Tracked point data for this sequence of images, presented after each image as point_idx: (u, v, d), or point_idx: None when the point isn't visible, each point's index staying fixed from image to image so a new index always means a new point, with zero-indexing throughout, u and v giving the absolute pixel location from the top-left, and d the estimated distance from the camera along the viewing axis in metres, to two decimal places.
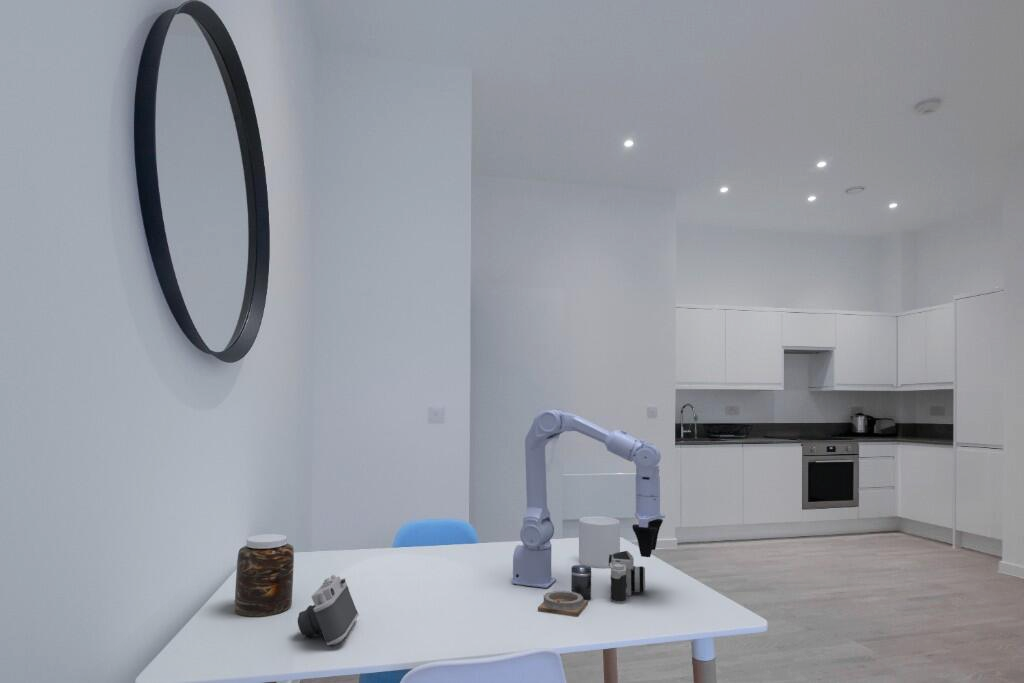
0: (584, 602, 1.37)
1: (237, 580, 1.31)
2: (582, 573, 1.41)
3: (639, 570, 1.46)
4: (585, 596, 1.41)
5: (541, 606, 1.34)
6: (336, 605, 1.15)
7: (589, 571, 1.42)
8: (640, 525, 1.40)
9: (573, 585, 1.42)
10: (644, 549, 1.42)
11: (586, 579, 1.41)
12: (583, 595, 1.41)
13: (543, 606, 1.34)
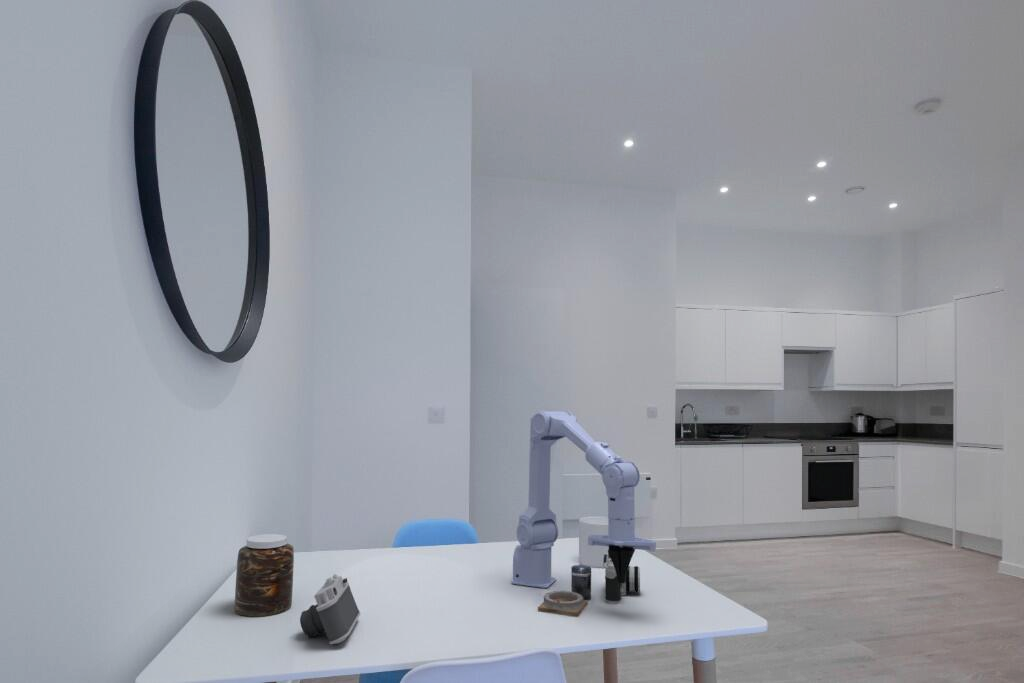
0: (584, 602, 1.37)
1: (237, 580, 1.31)
2: (582, 573, 1.41)
3: (633, 570, 1.46)
4: (585, 596, 1.41)
5: (541, 606, 1.34)
6: (339, 604, 1.15)
7: (589, 571, 1.42)
8: None
9: (573, 585, 1.42)
10: None
11: (586, 579, 1.41)
12: (583, 595, 1.41)
13: (543, 606, 1.34)
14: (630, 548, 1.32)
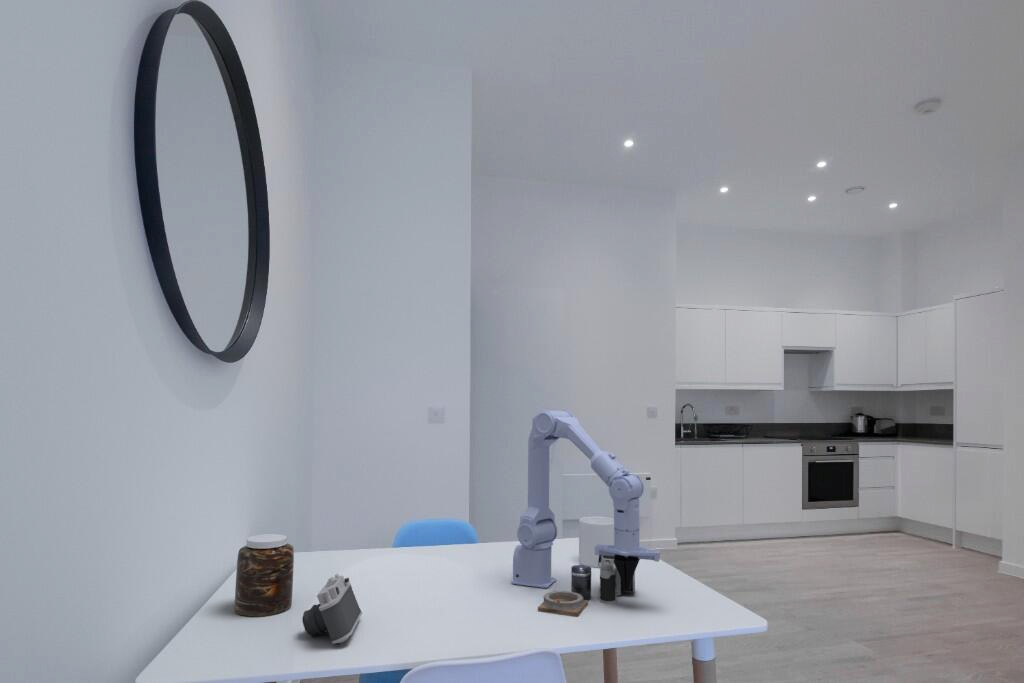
0: (584, 602, 1.37)
1: (237, 580, 1.31)
2: (582, 573, 1.41)
3: None
4: (585, 596, 1.41)
5: (541, 606, 1.34)
6: (341, 604, 1.16)
7: (589, 571, 1.42)
8: None
9: (573, 585, 1.42)
10: None
11: (586, 579, 1.41)
12: (583, 595, 1.41)
13: (543, 606, 1.34)
14: (635, 558, 1.38)
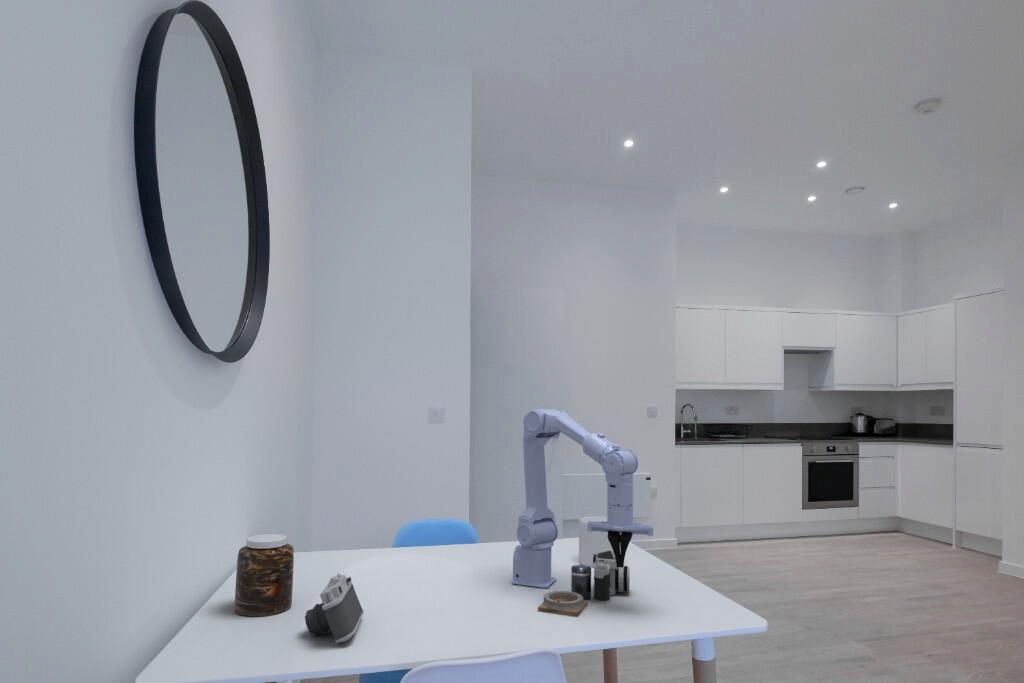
0: (584, 602, 1.37)
1: (237, 580, 1.31)
2: (582, 573, 1.41)
3: (623, 570, 1.46)
4: (585, 596, 1.41)
5: (541, 606, 1.34)
6: (344, 603, 1.16)
7: (589, 571, 1.42)
8: None
9: (573, 585, 1.42)
10: None
11: (586, 579, 1.41)
12: (583, 595, 1.41)
13: (543, 606, 1.34)
14: (629, 533, 1.36)
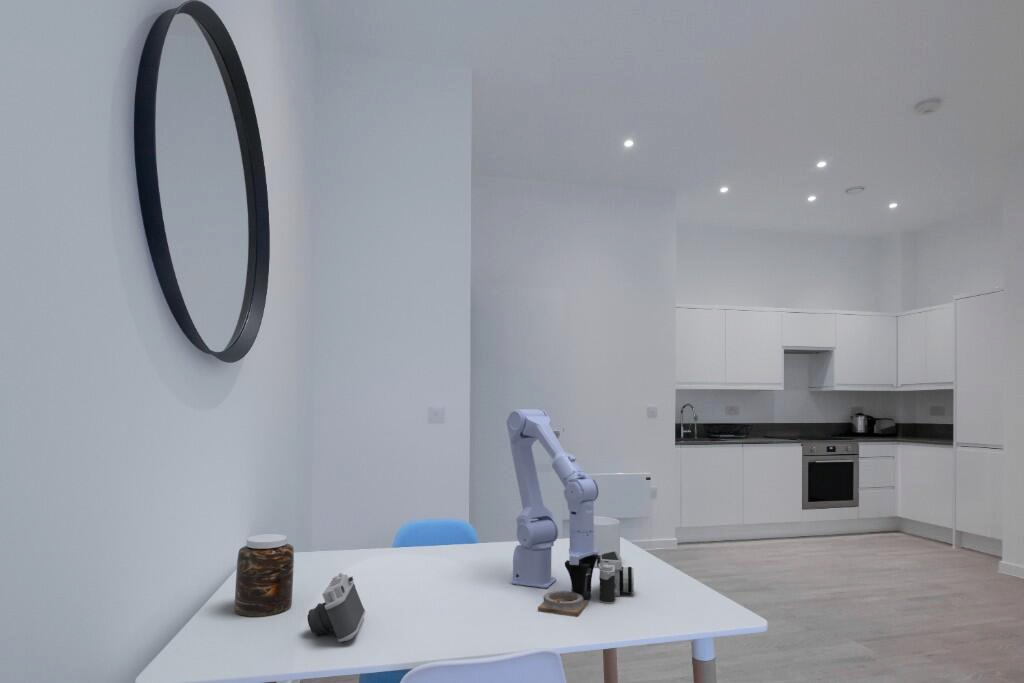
0: (584, 602, 1.37)
1: (237, 580, 1.31)
2: None
3: (627, 571, 1.46)
4: (585, 596, 1.41)
5: (541, 606, 1.34)
6: (347, 602, 1.17)
7: (589, 571, 1.42)
8: (571, 562, 1.37)
9: None
10: (577, 586, 1.40)
11: (587, 579, 1.41)
12: (583, 595, 1.41)
13: (543, 606, 1.34)
14: None
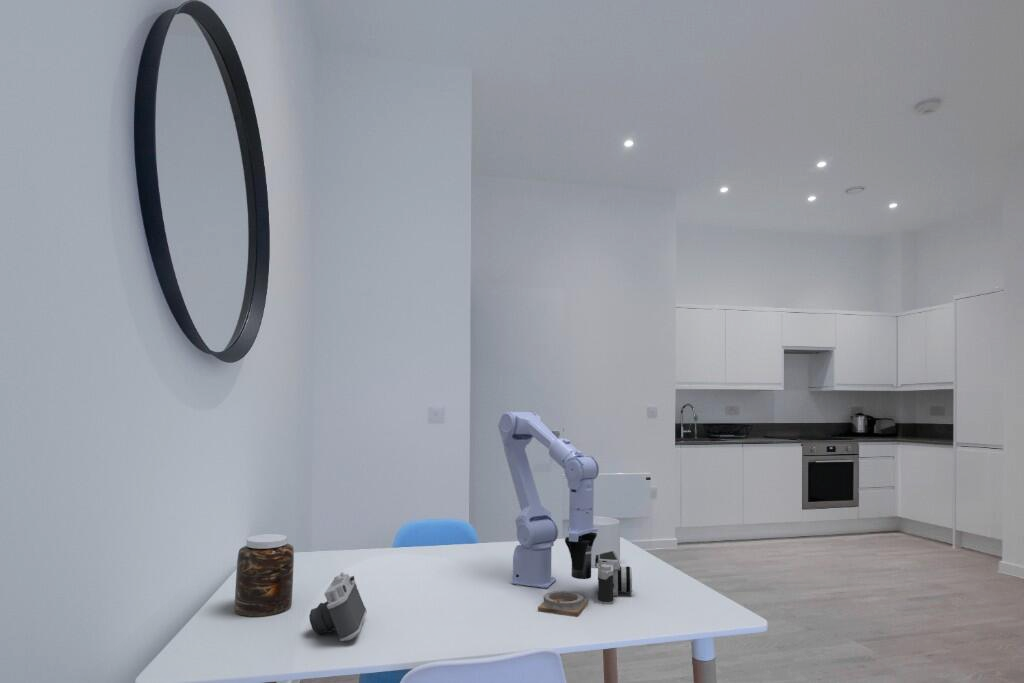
0: (584, 602, 1.37)
1: (237, 580, 1.31)
2: None
3: (625, 571, 1.46)
4: (585, 574, 1.41)
5: (541, 606, 1.34)
6: (349, 602, 1.17)
7: (589, 549, 1.43)
8: (570, 539, 1.38)
9: None
10: (576, 562, 1.41)
11: (587, 557, 1.42)
12: (583, 573, 1.41)
13: (543, 606, 1.34)
14: (586, 533, 1.46)
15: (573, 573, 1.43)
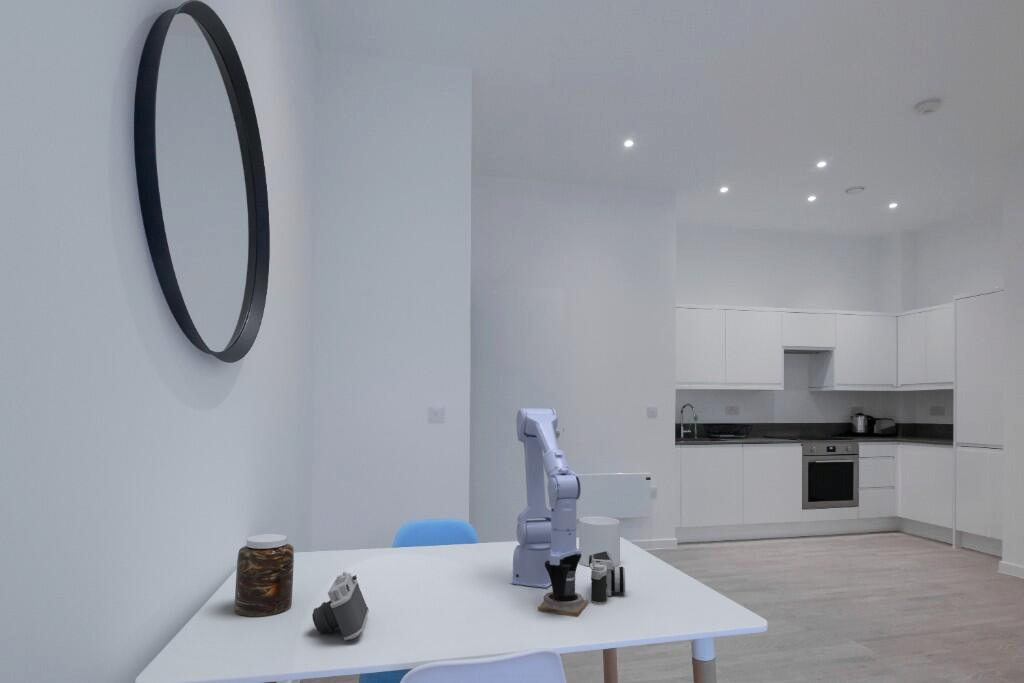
0: (584, 602, 1.37)
1: (237, 580, 1.31)
2: None
3: (619, 571, 1.46)
4: None
5: (541, 606, 1.34)
6: (352, 601, 1.17)
7: (573, 575, 1.36)
8: (551, 563, 1.31)
9: None
10: (557, 587, 1.33)
11: (570, 584, 1.35)
12: (567, 600, 1.34)
13: (543, 606, 1.34)
14: None
15: None
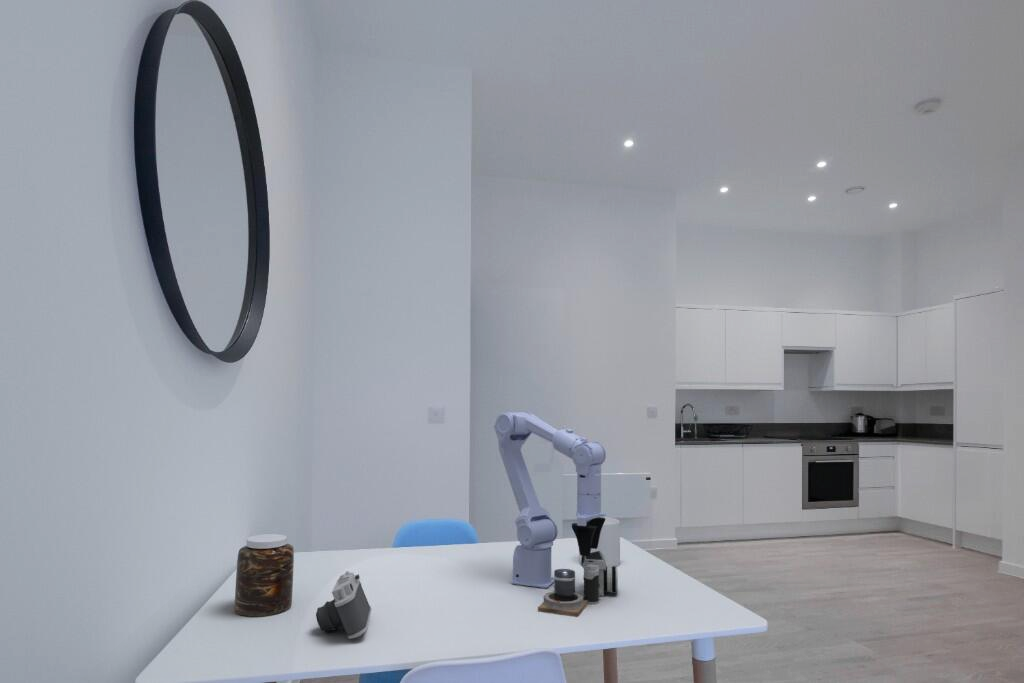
0: (584, 602, 1.37)
1: (237, 580, 1.31)
2: (566, 578, 1.35)
3: (611, 570, 1.46)
4: None
5: (541, 606, 1.34)
6: (356, 600, 1.18)
7: (573, 575, 1.36)
8: (578, 524, 1.39)
9: (557, 590, 1.35)
10: (583, 548, 1.41)
11: (570, 584, 1.35)
12: (567, 601, 1.34)
13: (543, 606, 1.34)
14: None
15: None
